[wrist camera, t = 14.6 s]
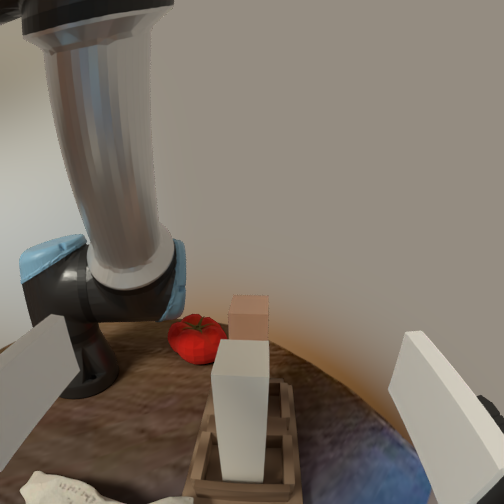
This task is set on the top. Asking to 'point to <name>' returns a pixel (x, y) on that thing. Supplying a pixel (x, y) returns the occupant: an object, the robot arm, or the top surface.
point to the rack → (275, 465)
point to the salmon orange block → (248, 317)
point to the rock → (73, 492)
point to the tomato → (196, 338)
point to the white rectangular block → (241, 408)
